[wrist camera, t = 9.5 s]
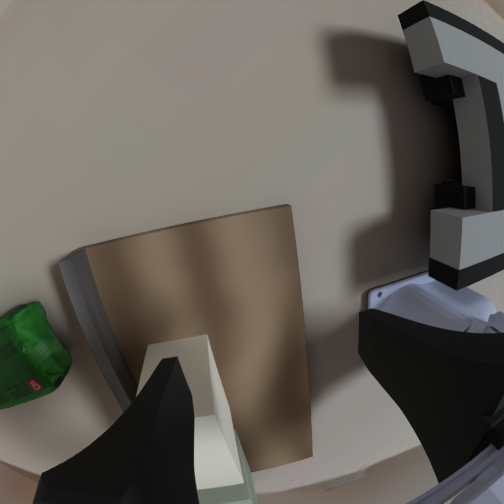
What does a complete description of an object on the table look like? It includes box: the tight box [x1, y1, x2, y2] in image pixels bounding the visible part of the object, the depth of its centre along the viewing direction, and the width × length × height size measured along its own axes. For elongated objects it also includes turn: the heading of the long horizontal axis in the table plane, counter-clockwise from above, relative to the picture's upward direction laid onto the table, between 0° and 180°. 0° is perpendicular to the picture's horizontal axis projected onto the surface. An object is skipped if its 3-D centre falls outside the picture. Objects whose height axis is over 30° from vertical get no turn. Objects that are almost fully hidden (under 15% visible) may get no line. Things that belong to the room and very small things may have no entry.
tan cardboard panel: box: [58, 204, 313, 472], centre depth 21 cm, size 15×28×4 cm, turn 9°
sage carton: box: [197, 430, 258, 504], centre depth 20 cm, size 5×8×8 cm, turn 9°
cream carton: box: [136, 334, 244, 490], centre depth 17 cm, size 5×8×8 cm, turn 10°
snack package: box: [0, 302, 72, 409], centre depth 16 cm, size 7×16×5 cm, turn 114°
